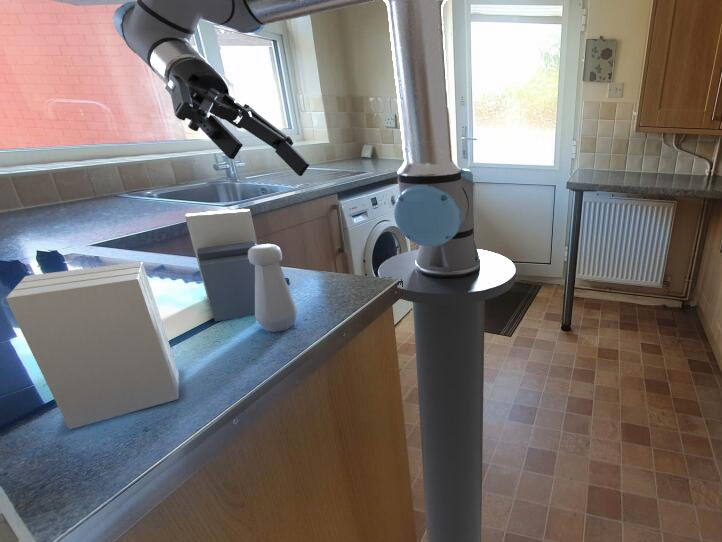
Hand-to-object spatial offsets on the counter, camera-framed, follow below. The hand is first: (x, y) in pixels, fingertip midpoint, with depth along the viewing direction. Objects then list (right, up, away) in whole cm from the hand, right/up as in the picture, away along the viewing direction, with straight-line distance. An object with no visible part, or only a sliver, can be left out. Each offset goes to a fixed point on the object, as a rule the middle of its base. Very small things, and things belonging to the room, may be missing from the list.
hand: (273, 161), depth 66 cm
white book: (-11, -22, +8) cm, 26 cm away
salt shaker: (+2, -27, -2) cm, 27 cm away
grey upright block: (-7, -24, +3) cm, 25 cm away
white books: (-6, -33, -19) cm, 39 cm away
